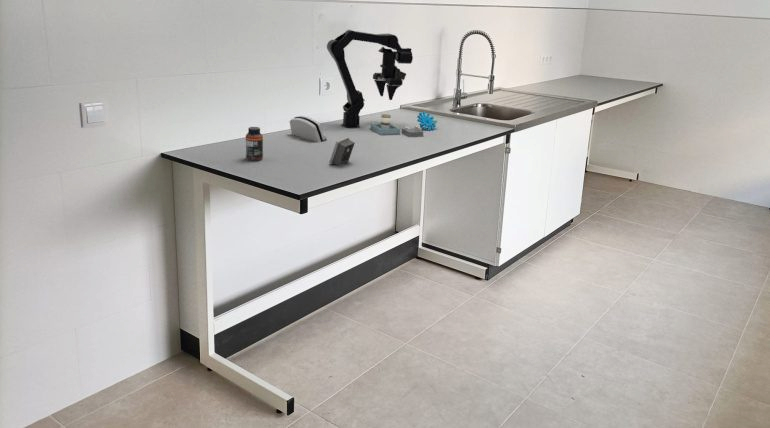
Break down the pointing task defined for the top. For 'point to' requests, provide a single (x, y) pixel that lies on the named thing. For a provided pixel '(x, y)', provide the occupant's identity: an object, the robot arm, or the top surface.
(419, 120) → the gear
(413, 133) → the fuse block
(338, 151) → the electrical switch
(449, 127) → the top surface
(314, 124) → the white half-oval case
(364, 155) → the top surface
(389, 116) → the fuse
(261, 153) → the supplement bottle
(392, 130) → the tray
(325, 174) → the top surface
